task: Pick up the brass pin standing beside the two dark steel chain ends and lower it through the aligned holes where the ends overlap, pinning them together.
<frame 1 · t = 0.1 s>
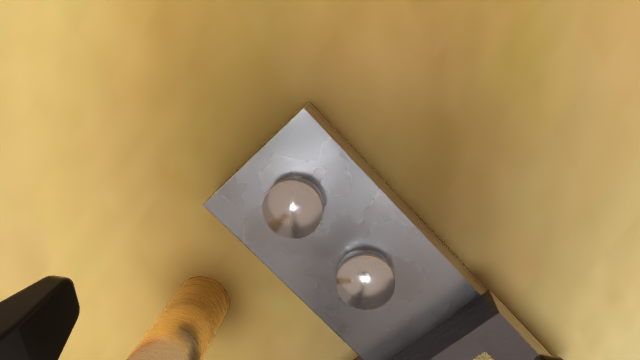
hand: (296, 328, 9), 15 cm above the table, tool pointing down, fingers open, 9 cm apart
chain ends: (462, 353, 27), on the table
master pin: (203, 299, 27), on the table
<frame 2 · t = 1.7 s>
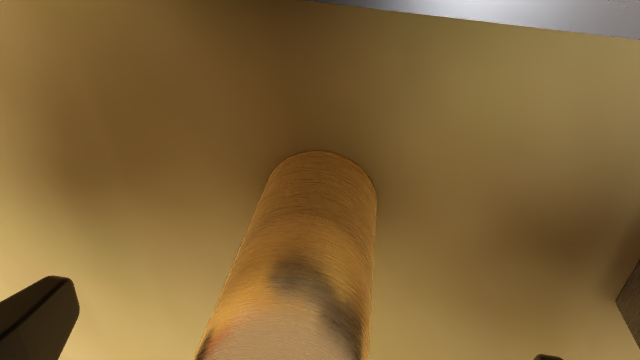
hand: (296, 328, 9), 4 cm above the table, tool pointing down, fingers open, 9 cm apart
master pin: (320, 200, 13), on the table
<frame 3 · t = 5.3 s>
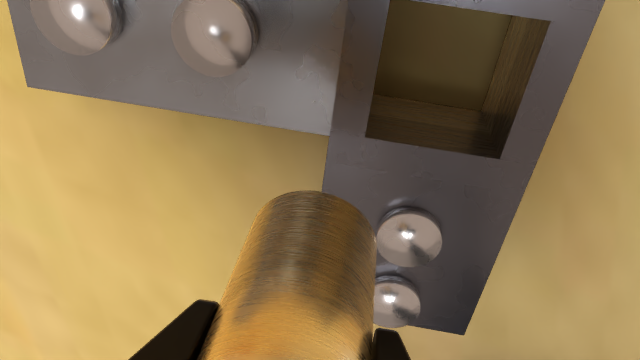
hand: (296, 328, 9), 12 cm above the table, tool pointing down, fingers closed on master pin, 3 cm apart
chain ends: (439, 47, 18), on the table
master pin: (313, 243, 11), point 10 cm above the table, touching gripper
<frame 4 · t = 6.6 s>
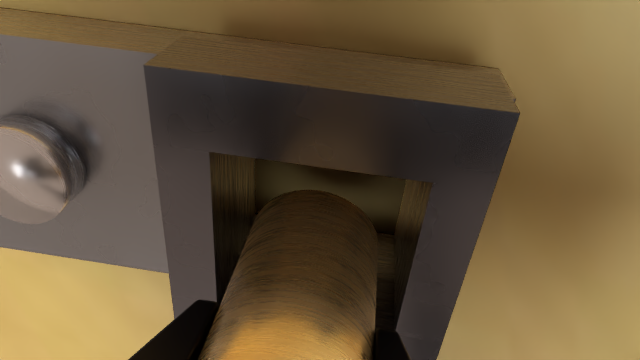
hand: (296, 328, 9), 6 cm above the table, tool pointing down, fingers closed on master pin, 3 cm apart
chain ends: (330, 164, 14), on the table
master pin: (314, 243, 11), point 4 cm above the table, touching gripper
when the fingers open (5 cm above the table, at t = 7.7 s): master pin drops 2 cm, resting in chain ends.
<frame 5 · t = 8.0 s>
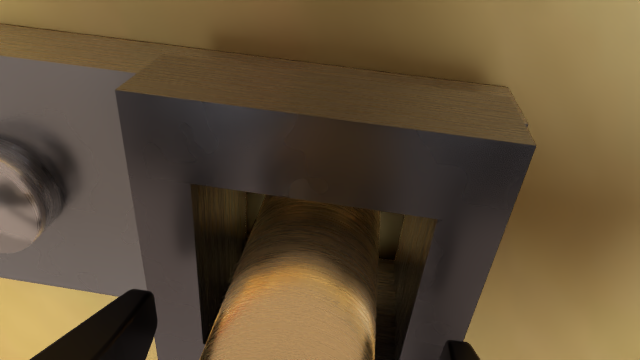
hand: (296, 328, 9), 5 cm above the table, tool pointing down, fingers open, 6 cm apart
chain ends: (326, 187, 13), on the table
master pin: (327, 186, 13), resting in chain ends
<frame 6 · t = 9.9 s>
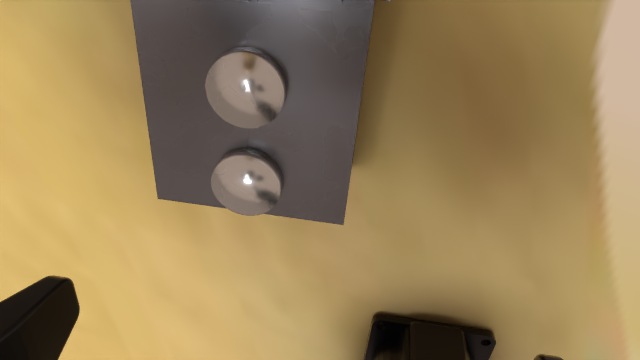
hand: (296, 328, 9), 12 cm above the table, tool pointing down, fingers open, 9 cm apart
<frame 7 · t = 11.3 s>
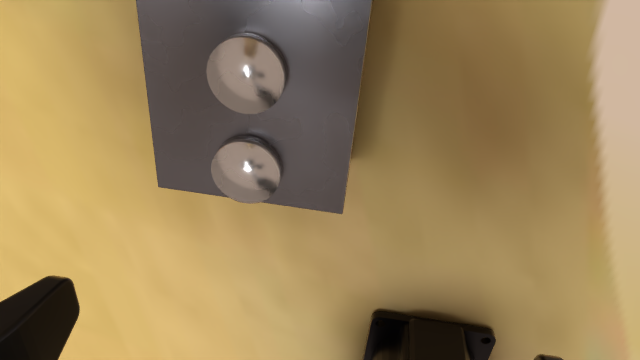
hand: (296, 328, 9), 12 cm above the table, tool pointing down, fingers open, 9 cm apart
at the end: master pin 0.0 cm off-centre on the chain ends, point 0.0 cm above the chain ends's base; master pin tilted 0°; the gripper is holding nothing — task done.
